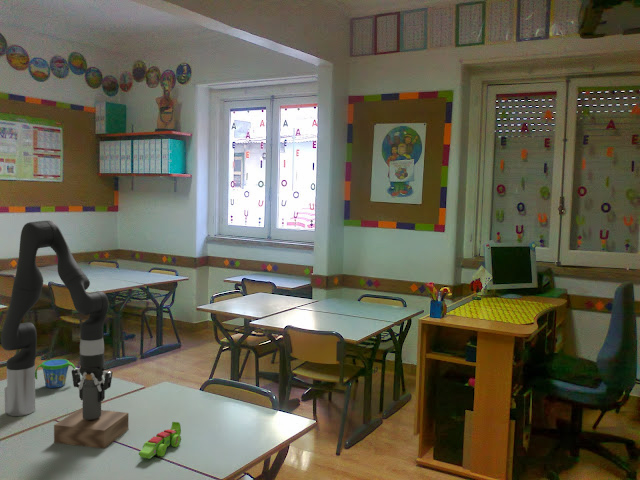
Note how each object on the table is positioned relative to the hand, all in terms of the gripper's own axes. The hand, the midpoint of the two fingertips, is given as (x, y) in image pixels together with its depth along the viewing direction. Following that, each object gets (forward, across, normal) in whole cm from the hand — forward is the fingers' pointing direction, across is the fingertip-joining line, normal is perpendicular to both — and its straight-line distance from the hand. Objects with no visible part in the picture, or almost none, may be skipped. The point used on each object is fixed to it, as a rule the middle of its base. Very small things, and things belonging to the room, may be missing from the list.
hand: (92, 400), depth 185 cm
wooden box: (+12, 0, 0) cm, 12 cm away
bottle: (+6, 0, 0) cm, 6 cm away
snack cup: (+13, -43, +40) cm, 60 cm away
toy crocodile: (+13, +27, -4) cm, 30 cm away
